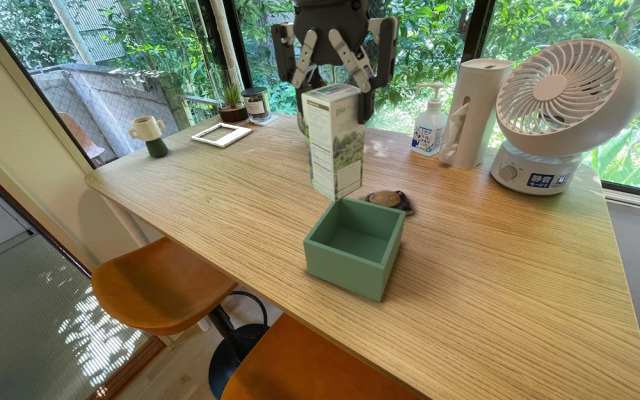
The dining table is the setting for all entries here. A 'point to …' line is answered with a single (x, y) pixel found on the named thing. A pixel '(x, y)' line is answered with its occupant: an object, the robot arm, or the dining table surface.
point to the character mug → (149, 134)
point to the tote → (355, 245)
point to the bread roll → (390, 200)
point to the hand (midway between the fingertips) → (334, 118)
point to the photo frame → (228, 138)
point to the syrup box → (334, 139)
